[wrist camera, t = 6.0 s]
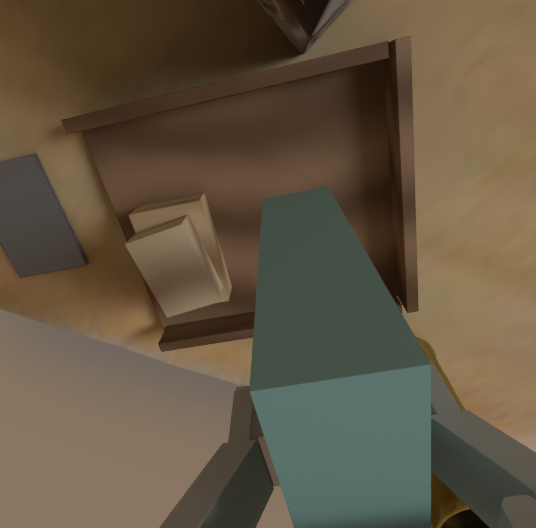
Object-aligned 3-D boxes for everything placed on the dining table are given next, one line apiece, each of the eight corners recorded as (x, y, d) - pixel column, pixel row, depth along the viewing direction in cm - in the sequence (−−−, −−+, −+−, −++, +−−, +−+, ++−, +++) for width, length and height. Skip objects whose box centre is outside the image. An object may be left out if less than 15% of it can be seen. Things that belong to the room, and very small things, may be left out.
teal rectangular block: (262, 199, 11) (249, 391, 4) (328, 185, 10) (431, 363, 4) (308, 403, 15) (341, 670, 8) (356, 396, 14) (431, 665, 8)
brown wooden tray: (84, 118, 24) (55, 121, 21) (391, 44, 22) (410, 35, 19) (168, 327, 32) (156, 352, 29) (402, 288, 29) (418, 311, 26)
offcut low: (139, 205, 26) (128, 215, 24) (204, 192, 25) (198, 200, 23) (174, 296, 29) (166, 311, 27) (231, 286, 29) (228, 300, 27)
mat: (-37, 170, 26) (-42, 171, 26) (36, 153, 25) (32, 154, 25) (23, 275, 30) (20, 277, 29) (88, 263, 29) (86, 265, 29)
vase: (355, 360, 33) (405, 529, 20) (408, 323, 31) (502, 483, 18) (394, 394, 35) (463, 569, 22) (447, 361, 33) (557, 531, 20)
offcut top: (136, 232, 24) (124, 244, 22) (188, 213, 24) (180, 224, 22) (175, 301, 27) (167, 317, 25) (222, 286, 26) (218, 302, 24)
